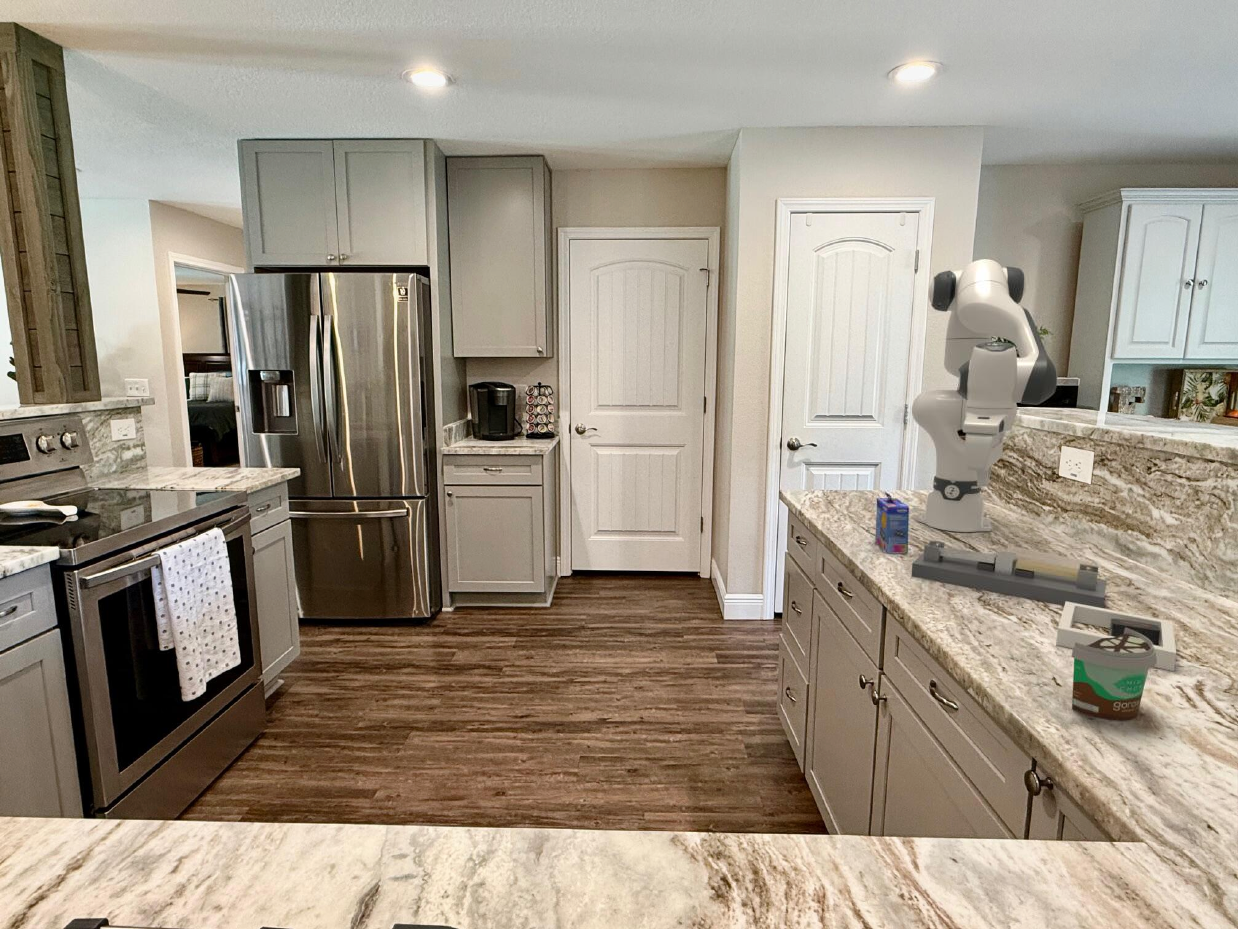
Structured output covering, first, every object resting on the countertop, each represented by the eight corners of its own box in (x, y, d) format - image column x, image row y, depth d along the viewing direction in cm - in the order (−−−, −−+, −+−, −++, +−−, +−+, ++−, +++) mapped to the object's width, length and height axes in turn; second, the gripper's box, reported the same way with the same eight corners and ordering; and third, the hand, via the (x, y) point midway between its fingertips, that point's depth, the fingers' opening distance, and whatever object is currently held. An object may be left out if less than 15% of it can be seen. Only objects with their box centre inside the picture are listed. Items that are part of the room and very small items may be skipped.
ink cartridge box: (873, 542, 167) (876, 489, 164) (895, 543, 166) (898, 489, 164) (885, 554, 157) (888, 497, 154) (908, 554, 156) (912, 497, 154)
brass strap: (1017, 565, 134) (1018, 557, 134) (1093, 579, 126) (1094, 570, 126) (1015, 569, 132) (1016, 561, 131) (1092, 583, 124) (1093, 574, 123)
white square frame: (1064, 616, 118) (1065, 601, 117) (1169, 637, 109) (1172, 621, 108) (1056, 644, 106) (1057, 628, 106) (1173, 671, 97) (1176, 653, 97)
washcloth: (1006, 555, 157) (1008, 543, 156) (1094, 572, 143) (1096, 559, 143) (988, 565, 149) (989, 552, 149) (1080, 585, 136) (1081, 571, 135)
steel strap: (931, 552, 144) (931, 544, 144) (996, 561, 136) (996, 553, 136) (928, 555, 142) (928, 547, 142) (993, 564, 134) (994, 556, 134)
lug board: (925, 562, 150) (927, 536, 149) (1104, 594, 129) (1108, 563, 128) (911, 576, 141) (913, 548, 140) (1102, 612, 119) (1106, 580, 118)
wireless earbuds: (1164, 650, 104) (1167, 632, 104) (1110, 641, 108) (1113, 623, 107) (1158, 639, 108) (1160, 622, 108) (1106, 631, 112) (1108, 614, 111)
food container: (1114, 735, 81) (1124, 662, 79) (1064, 711, 87) (1072, 642, 85) (1169, 713, 86) (1179, 644, 84) (1119, 691, 91) (1127, 626, 90)
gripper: (980, 415, 142) (975, 475, 145) (961, 424, 127) (956, 491, 129) (1013, 417, 138) (1007, 478, 141) (997, 426, 123) (991, 495, 125)
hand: (982, 485), depth 135 cm, fingers closed
